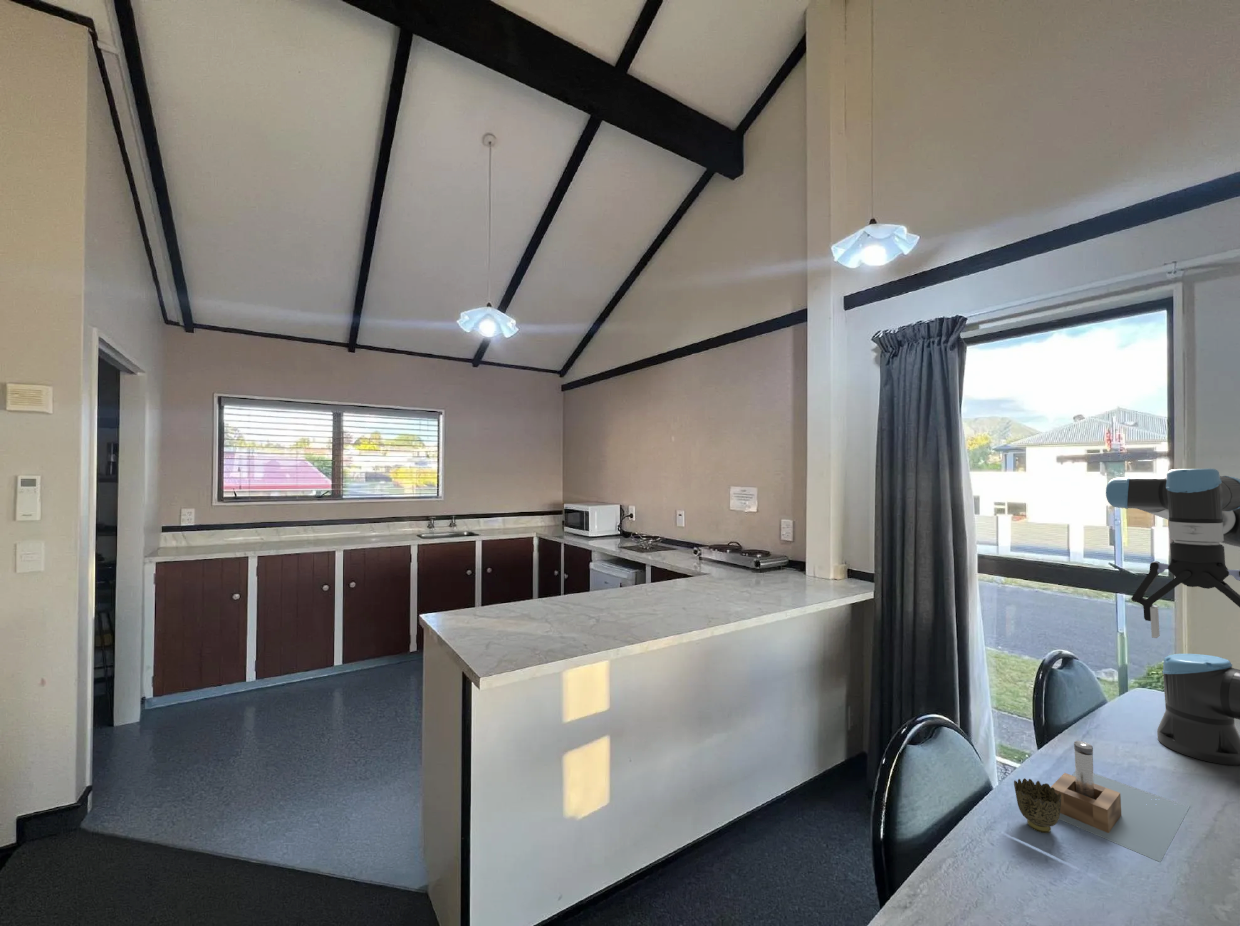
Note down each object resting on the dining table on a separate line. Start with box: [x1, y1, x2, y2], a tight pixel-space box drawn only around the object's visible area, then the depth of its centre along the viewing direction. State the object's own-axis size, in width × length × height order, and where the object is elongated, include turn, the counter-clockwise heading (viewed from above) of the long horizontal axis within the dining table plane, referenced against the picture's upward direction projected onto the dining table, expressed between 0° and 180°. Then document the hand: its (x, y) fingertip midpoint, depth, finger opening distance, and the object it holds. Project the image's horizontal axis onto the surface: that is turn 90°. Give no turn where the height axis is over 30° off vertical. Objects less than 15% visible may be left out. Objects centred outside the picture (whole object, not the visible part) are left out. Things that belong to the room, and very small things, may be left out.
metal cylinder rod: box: [1073, 740, 1094, 799], centre depth 107 cm, size 3×3×14 cm
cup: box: [1013, 777, 1062, 834], centre depth 103 cm, size 8×7×8 cm
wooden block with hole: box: [1050, 772, 1121, 833], centre depth 107 cm, size 9×9×4 cm
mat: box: [1058, 771, 1190, 863], centre depth 108 cm, size 26×18×1 cm
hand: (1202, 644), depth 106 cm, fingers open, 13 cm apart
